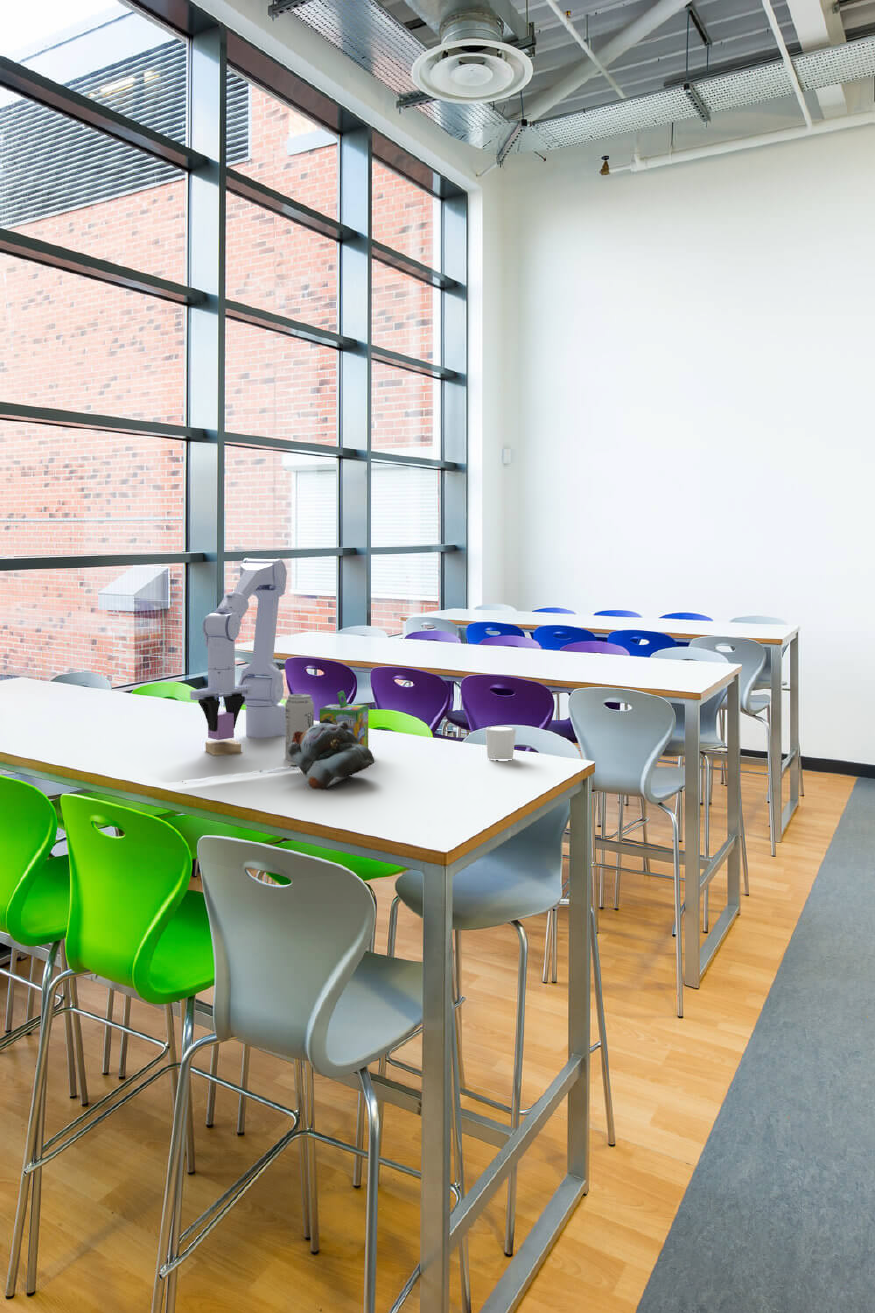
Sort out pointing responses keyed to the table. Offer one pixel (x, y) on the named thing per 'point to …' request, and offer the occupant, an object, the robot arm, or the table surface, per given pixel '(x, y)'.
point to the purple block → (223, 726)
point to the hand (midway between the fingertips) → (222, 729)
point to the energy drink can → (297, 717)
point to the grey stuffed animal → (328, 753)
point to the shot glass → (500, 742)
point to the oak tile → (223, 747)
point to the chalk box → (348, 717)
